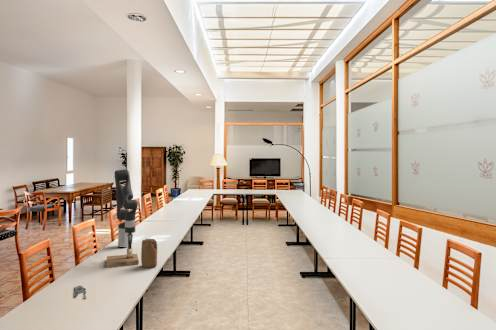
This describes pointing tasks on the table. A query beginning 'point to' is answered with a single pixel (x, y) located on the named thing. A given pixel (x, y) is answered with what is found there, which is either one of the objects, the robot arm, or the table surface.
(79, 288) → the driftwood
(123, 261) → the board
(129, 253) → the peg
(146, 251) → the block
